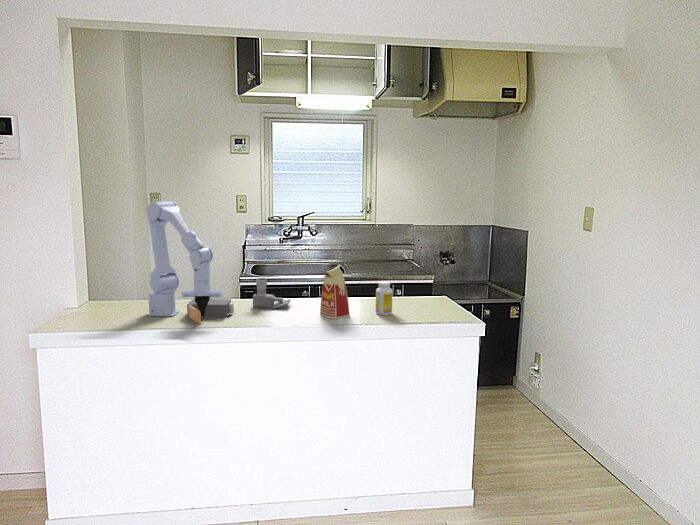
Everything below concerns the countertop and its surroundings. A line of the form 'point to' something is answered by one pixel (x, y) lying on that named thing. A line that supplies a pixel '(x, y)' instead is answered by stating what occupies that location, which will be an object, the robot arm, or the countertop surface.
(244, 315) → the countertop surface
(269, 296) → the camera
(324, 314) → the milk carton
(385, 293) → the supplement bottle
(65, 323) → the countertop surface
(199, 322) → the case door
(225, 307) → the camera case
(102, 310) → the countertop surface
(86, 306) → the countertop surface
